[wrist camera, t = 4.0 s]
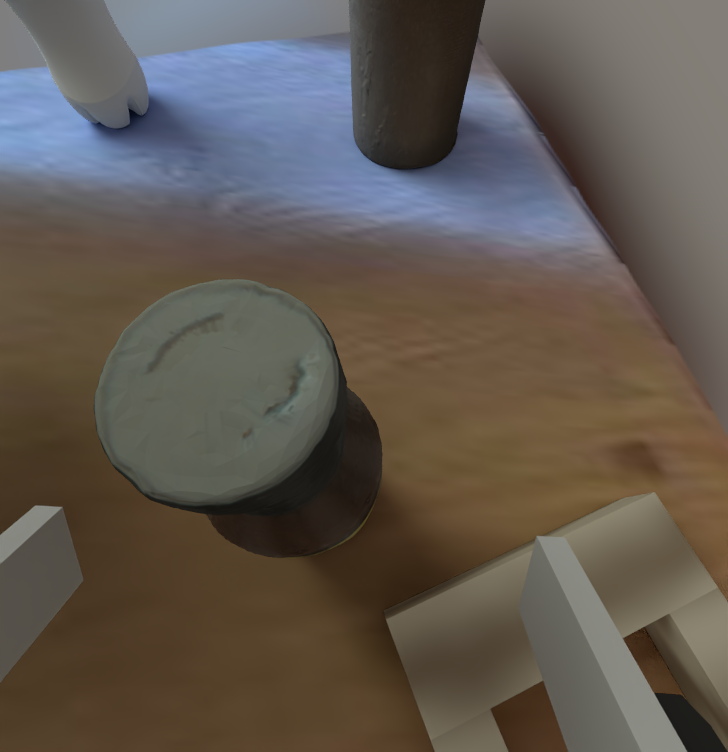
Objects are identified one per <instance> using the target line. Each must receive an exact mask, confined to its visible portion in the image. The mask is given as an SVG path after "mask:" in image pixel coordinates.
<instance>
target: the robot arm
mask: <svg viewBox="0 0 728 752" xmlns="http://www.w3.org/2000/svg"><path fill="white" fill-rule="evenodd" d="M83 581H84V579H83V576H82V572H81V569H80V565H79V562H78V559H77V555H76V552H75V548H74V545H73V541H72V538H71V535H70V531H69V528H68V524H67V521H66V517H65V514H64V511H63V507H53V506H37V505H35V506H34V507H33V508H32V509H31V510H30V511H28V512H27V513H26V514H25V515H24V516H22V517H21V518H20V519H19V520H18V521H16V522H15V523H14V524H13V525H12V526H10V527H9V528H8V529H7V530H6V531H4V532H3V533H2V534H1V535H0V683H1V681H2V680H3V679H4V678H5V676H6V675H7V674H8V673H9V672H10V670H11V669H12V668H13V667H14V665H15V664H16V663H17V662H18V660H19V659H20V658H21V657H22V656H23V654H24V653H25V652H26V651H27V649H28V648H29V647H30V646H31V644H32V643H33V642H34V641H35V640H36V638H37V637H38V636H39V635H40V633H41V632H42V631H43V630H44V629H45V627H46V626H47V625H48V624H49V622H50V621H51V620H52V619H53V617H54V616H55V615H56V614H57V613H58V611H59V610H60V609H61V608H62V606H63V605H64V604H65V603H66V602H67V600H68V599H69V598H70V597H71V595H72V594H73V593H74V592H75V590H76V589H77V588H78V587H79V586H80V584H81V583H82V582H83ZM518 609H519V612H520V615H521V618H522V621H523V624H524V627H525V630H526V632H527V635H528V638H529V641H530V644H531V647H532V650H533V652H534V655H535V658H536V661H537V664H538V667H539V670H540V673H541V675H542V678H543V681H544V684H545V687H546V690H547V693H548V695H549V698H550V701H551V704H552V707H553V710H554V713H555V716H556V718H557V721H558V724H559V727H560V730H561V733H562V736H563V738H564V741H565V744H566V747H567V750H568V752H728V751H727V750H726V748H725V746H724V745H723V743H722V742H721V740H720V739H719V737H718V736H717V734H716V733H715V731H714V729H713V728H712V726H711V725H710V724H709V723H708V722H707V721H706V720H705V719H704V718H703V717H702V716H701V715H700V714H699V713H698V712H697V711H696V710H695V709H694V708H693V707H692V706H691V705H690V704H689V702H688V701H687V700H686V699H685V698H684V697H683V696H682V695H676V694H662V693H653V691H652V689H651V687H650V686H649V684H648V682H647V680H646V679H645V677H644V675H643V673H642V672H641V670H640V668H639V666H638V665H637V663H636V661H635V659H634V658H633V656H632V654H631V652H630V651H629V649H628V647H627V645H626V644H625V642H624V640H623V638H622V637H621V635H620V633H619V631H618V630H617V628H616V626H615V624H614V623H613V621H612V619H611V617H610V616H609V614H608V612H607V610H606V609H605V607H604V605H603V603H602V602H601V600H600V598H599V596H598V594H597V593H596V591H595V589H594V587H593V586H592V584H591V582H590V580H589V579H588V577H587V575H586V573H585V572H584V570H583V568H582V566H581V565H580V563H579V561H578V559H577V558H576V556H575V554H574V552H573V551H572V549H571V547H570V545H569V544H568V542H567V540H566V538H564V537H548V536H536V540H535V544H534V548H533V552H532V556H531V560H530V564H529V567H528V571H527V575H526V579H525V583H524V587H523V591H522V595H521V599H520V603H519V607H518Z"/></svg>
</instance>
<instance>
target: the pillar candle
mask: <svg viewBox="0 0 728 752" xmlns="http://www.w3.org/2000/svg"><path fill="white" fill-rule="evenodd" d="M484 4H485V0H349V16H350V50H351V87H352V111H353V132H354V138H355V142H356V144H357V146H358V148H359V149H360V151H361V152H362V153H363V154H364V155H365V156H367V157H368V158H369V159H371V160H372V161H374V162H376V163H379V164H381V165H384V166H389V167H392V168H398V169H403V168H404V169H408V168H417V167H423V166H429V165H432V164H435V163H437V162H438V161H441V160H442V159H443V158H444V157H446V156H447V155H448V153H450V152H451V150H452V149H453V147H454V145H455V142H456V138H457V127H458V123H459V118H460V113H461V109H462V105H463V100H464V95H465V91H466V86H467V82H468V78H469V73H470V68H471V63H472V59H473V55H474V50H475V46H476V42H477V38H478V33H479V27H480V22H481V17H482V12H483V8H484Z"/></svg>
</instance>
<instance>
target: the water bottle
mask: <svg viewBox="0 0 728 752" xmlns="http://www.w3.org/2000/svg"><path fill="white" fill-rule="evenodd" d="M5 1H6V3H7V4H8V5H9V6H10V7H11V8H12V10H13V11H14V12H15V14H16V15H17V16H18V18H19V19H20V20H21V22H22V23H23V24H24V26H25V27H26V29H27V30H28V32H29V33H30V35H31V37H32V38H33V40H34V42H35V43H36V45H37V47H38V48H39V50H40V52H41V54H42V56H43V58H44V59H45V62H46V64H47V66H48V68H49V71H50V73H51V76H52V78H53V80H54V82H55V84H56V86H57V87H58V89H59V90H60V92H61V93H62V95H63V96H64V97H65V99H66V100H67V101H68V102H69V103H70V105H71V106H72V107H73V108H74V109H75V110H76V111H77V112H78V113H79V114H80V115H81V116H83V117H84V118H85V119H86V120H88V121H90V122H92V123H98V122H100V123H102V124H103V125H105V126H107V127H109V128H114V129H117V128H123V127H126V126H127V125H129V121H130V119H129V110H128V108H129V109H131V110H133V111H134V112H136V113H137V114H139V115H143V114H145V113H146V111H147V109H148V105H149V95H148V87H147V83H146V79H145V76H144V73H143V71H142V68H141V66H140V64H139V62H138V60H137V58H136V56H135V54H134V53H133V52H132V50H131V49H130V48H129V46H128V45H127V43H126V41H125V40H124V38H123V37H122V35H121V34H120V32H119V30H118V28H117V27H116V25H115V23H114V21H113V19H112V17H111V15H110V13H109V11H108V9H107V7H106V4H105V2H104V0H5Z"/></svg>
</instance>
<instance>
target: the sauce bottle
mask: <svg viewBox="0 0 728 752" xmlns="http://www.w3.org/2000/svg"><path fill="white" fill-rule="evenodd" d="M94 413H95V419H96V429H97V433H98V436H99V438H100V441H101V444H102V447H103V449H104V451H105V453H106V455H107V456H108V458H109V460H110V462H111V463H112V465H113V466H114V468H115V469H116V470H117V471H118V472H120V473H121V474H122V475H123V476H124V477H125V478H126V479H128V480H129V481H130V482H131V483H132V484H133V485H134V486H135V487H136V489H137V490H138V491H139V492H140V493H142V494H143V495H144V496H146V497H147V498H148V499H150V500H152V501H155V502H158V503H161V504H164V505H167V506H170V507H173V508H179V509H182V510H187V511H192V512H197V513H203V514H206V515H207V516H208V518H209V520H210V521H211V523H212V525H213V526H214V527H215V528H216V530H217V531H218V532H219V533H220V534H221V535H222V536H224V538H225V539H227V540H229V541H230V542H231V543H234V544H236V545H237V546H239V547H241V548H243V549H245V550H247V551H249V552H252V553H255V554H260V555H264V556H268V557H275V558H300V557H307V556H311V555H316V554H319V553H322V552H324V551H327V550H330V549H332V548H334V547H335V546H338V545H340V544H342V543H344V542H346V541H347V540H349V539H350V538H352V537H353V536H354V535H355V534H356V533H357V532H358V531H359V530H360V529H361V528H362V526H363V525H364V523H365V522H366V520H367V518H368V516H369V514H370V512H371V511H372V508H373V506H374V504H375V501H376V498H377V496H378V493H379V489H380V484H381V477H382V445H381V439H380V436H379V430H378V427H377V424H376V422H375V420H374V419H373V417H372V416H371V414H370V412H369V410H368V409H367V407H366V406H365V404H364V403H363V402H362V401H361V399H360V398H359V397H358V396H356V394H355V393H354V392H352V391H351V390H350V389H349V388H348V387H347V381H346V378H345V375H344V372H343V369H342V366H341V363H340V360H339V357H338V354H337V351H336V347H335V344H334V341H333V339H332V337H331V335H330V334H329V332H328V330H327V328H326V326H325V325H324V323H323V322H322V321H321V319H320V318H319V317H318V316H317V315H316V314H315V313H314V312H313V311H312V310H311V309H310V308H309V306H307V305H306V304H304V303H303V302H301V301H300V300H298V299H296V298H295V297H293V296H292V295H290V294H288V293H286V292H285V291H283V290H281V289H276V288H271V287H268V286H266V285H263V284H261V283H258V282H256V281H249V280H243V279H235V280H215V281H211V282H206V283H201V284H196V285H193V286H190V287H186V288H183V289H180V290H177V291H174V292H172V293H170V294H168V295H166V296H165V297H163V298H161V299H160V300H158V301H157V302H155V303H154V304H152V305H151V306H149V307H148V308H147V309H146V310H144V311H143V312H142V313H141V314H140V315H139V316H138V317H137V318H136V319H135V320H134V321H133V322H132V323H131V324H130V325H129V326H128V327H127V328H126V329H125V330H124V331H123V332H122V334H121V336H120V338H119V339H118V341H117V343H116V345H115V347H114V348H113V350H112V351H111V352H110V354H109V356H108V358H107V361H106V363H105V365H104V368H103V370H102V373H101V376H100V380H99V385H98V388H97V391H96V393H95V401H94Z"/></svg>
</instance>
